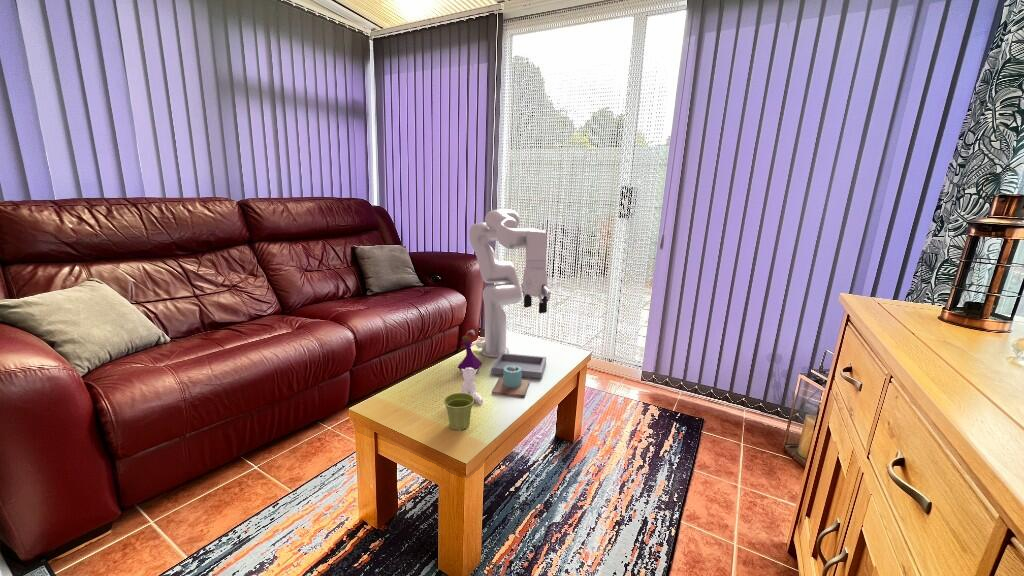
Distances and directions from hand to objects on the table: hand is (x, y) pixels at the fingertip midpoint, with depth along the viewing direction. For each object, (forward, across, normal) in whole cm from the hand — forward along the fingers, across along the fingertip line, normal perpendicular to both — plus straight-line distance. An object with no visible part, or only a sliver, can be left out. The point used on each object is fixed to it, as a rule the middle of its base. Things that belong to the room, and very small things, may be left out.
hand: (535, 309), depth 155 cm
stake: (+29, 0, -10) cm, 31 cm away
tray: (+28, -13, +2) cm, 31 cm away
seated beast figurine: (+29, 0, -28) cm, 40 cm away
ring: (+28, -1, -9) cm, 29 cm away
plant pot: (+29, +13, -38) cm, 49 cm away
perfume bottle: (+29, -20, -17) cm, 39 cm away
